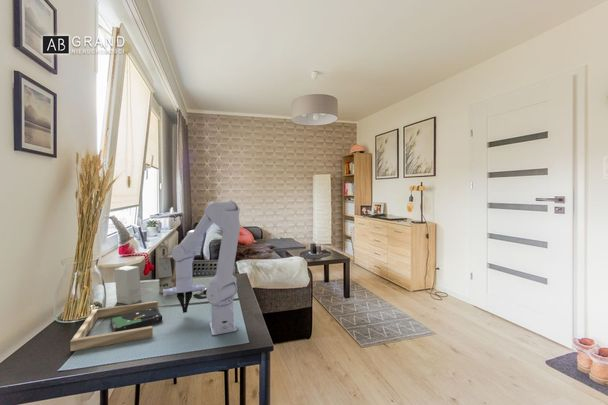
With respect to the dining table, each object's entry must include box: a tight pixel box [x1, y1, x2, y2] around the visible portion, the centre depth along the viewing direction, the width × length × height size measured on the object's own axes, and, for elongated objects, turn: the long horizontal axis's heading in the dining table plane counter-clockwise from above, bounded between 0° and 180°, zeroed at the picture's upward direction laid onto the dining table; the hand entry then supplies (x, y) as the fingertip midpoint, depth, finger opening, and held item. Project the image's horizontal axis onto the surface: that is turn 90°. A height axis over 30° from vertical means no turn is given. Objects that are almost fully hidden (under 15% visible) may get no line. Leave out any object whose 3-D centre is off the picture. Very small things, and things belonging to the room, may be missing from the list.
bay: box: [69, 300, 159, 352], centre depth 101 cm, size 25×22×3 cm
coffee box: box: [158, 254, 176, 294], centre depth 138 cm, size 9×6×16 cm
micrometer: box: [192, 287, 208, 300], centre depth 134 cm, size 15×7×2 cm, turn 154°
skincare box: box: [114, 265, 142, 305], centre depth 123 cm, size 8×6×15 cm
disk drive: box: [109, 308, 163, 332], centre depth 104 cm, size 10×3×15 cm
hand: (184, 311), depth 109 cm, fingers closed
